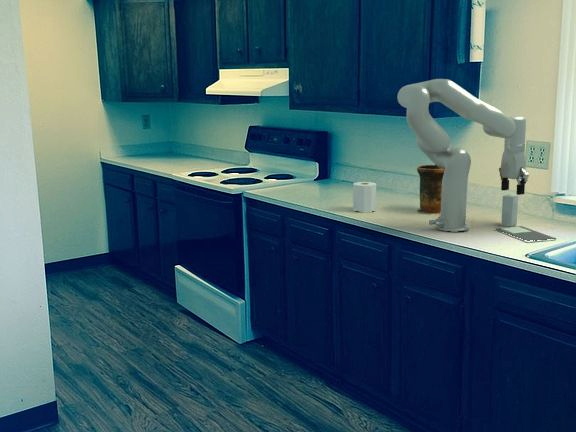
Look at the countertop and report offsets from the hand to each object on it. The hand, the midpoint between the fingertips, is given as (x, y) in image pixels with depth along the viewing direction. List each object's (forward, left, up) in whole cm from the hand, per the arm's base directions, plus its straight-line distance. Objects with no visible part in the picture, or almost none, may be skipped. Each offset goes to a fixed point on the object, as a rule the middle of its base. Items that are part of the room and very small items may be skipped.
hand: (512, 192), depth 247 cm
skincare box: (-1, 0, -13) cm, 13 cm away
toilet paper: (-44, +44, -13) cm, 63 cm away
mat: (-5, -15, -13) cm, 20 cm away
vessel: (-17, +32, -13) cm, 39 cm away
